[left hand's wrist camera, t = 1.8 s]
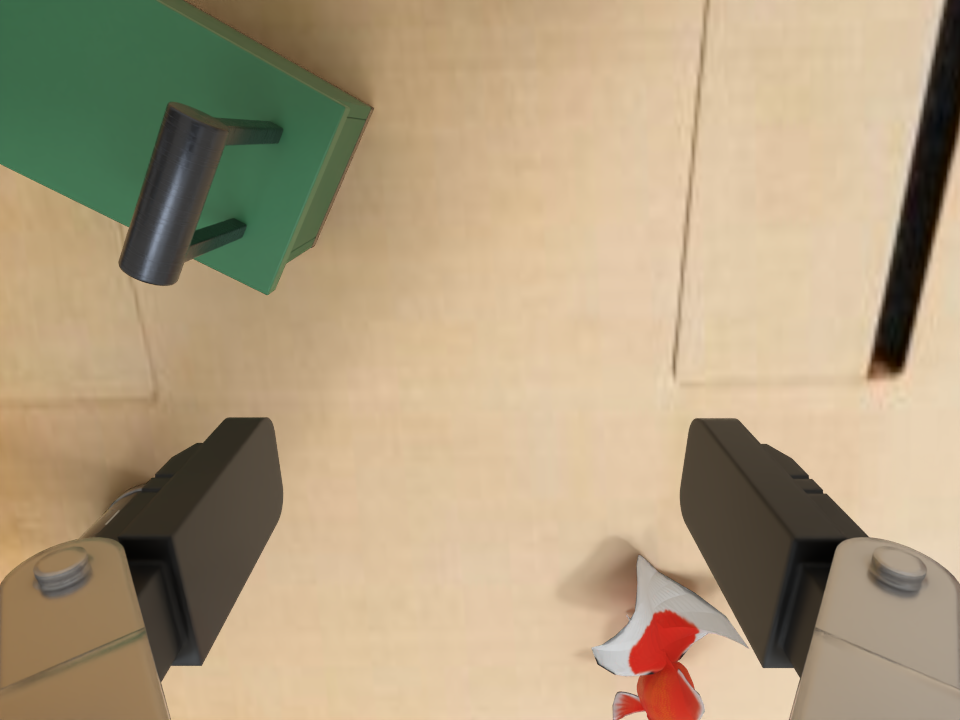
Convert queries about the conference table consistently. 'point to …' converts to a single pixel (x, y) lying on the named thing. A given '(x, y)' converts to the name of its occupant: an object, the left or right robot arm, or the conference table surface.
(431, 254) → the conference table surface
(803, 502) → the left robot arm
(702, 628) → the fish
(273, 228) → the lid
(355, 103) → the chest
